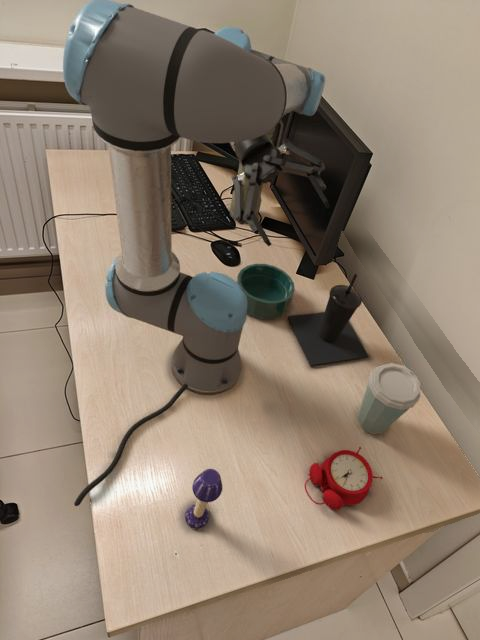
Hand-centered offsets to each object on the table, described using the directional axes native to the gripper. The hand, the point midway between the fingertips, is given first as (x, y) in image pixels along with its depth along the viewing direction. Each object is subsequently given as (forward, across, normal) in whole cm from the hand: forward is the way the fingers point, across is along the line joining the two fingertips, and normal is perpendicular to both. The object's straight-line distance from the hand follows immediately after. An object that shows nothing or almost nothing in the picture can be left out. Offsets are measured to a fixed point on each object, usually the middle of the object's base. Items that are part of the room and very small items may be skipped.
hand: (297, 224), depth 90 cm
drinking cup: (+17, +8, -29) cm, 34 cm away
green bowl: (0, +19, -27) cm, 33 cm away
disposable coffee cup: (+40, +8, -20) cm, 45 cm away
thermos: (-33, +15, -45) cm, 58 cm away
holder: (+17, +9, -29) cm, 35 cm away
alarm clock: (+48, +19, -7) cm, 52 cm away
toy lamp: (+41, +40, +10) cm, 58 cm away
